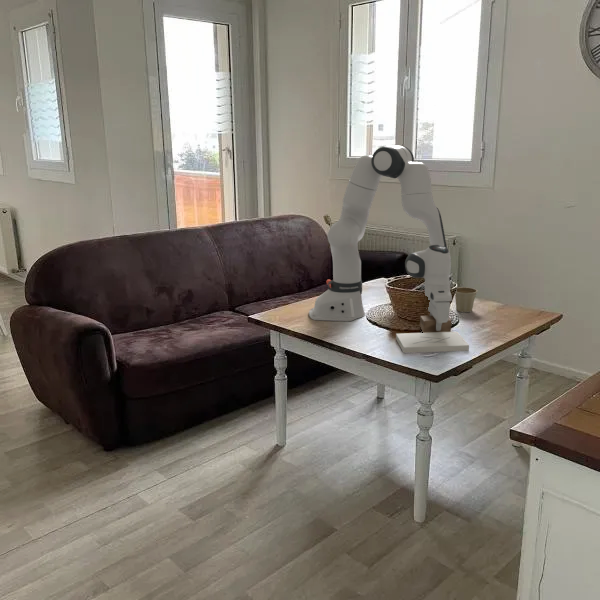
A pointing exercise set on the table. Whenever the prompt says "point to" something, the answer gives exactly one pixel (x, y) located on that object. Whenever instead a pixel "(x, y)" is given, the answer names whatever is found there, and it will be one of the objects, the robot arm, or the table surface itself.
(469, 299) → the flower pot
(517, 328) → the table surface
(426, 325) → the block
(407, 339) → the marked board
